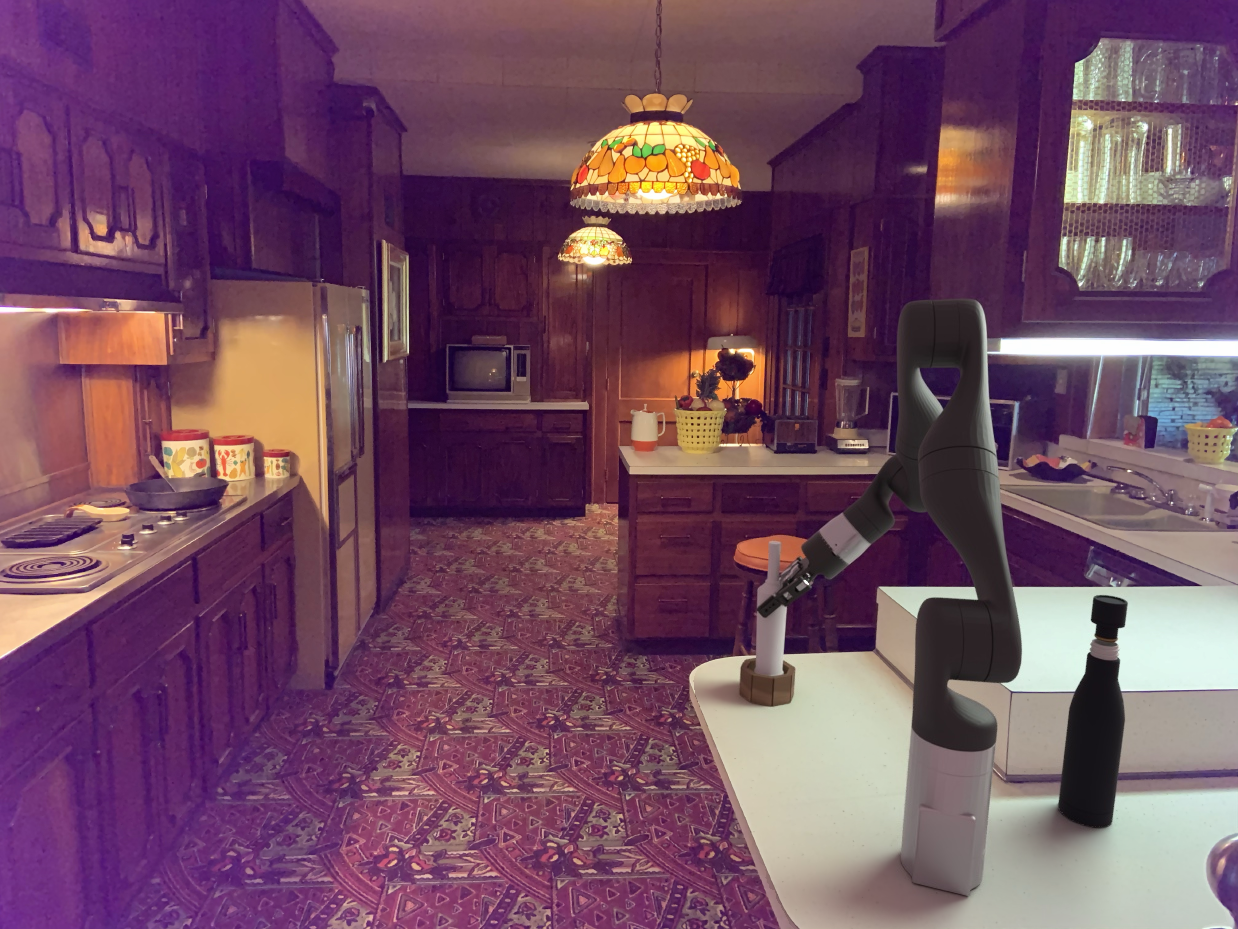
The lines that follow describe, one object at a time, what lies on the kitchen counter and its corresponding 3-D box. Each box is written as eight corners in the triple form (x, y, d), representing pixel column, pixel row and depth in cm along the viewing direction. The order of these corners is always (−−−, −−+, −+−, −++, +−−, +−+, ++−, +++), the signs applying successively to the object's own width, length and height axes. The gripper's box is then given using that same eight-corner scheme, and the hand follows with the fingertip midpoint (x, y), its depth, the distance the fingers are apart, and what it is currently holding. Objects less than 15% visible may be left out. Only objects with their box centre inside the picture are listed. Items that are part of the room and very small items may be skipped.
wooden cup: (787, 709, 142) (789, 681, 141) (735, 700, 145) (736, 672, 144) (796, 688, 150) (798, 662, 149) (747, 680, 153) (748, 654, 152)
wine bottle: (1047, 806, 114) (1071, 594, 109) (1079, 796, 117) (1103, 589, 112) (1090, 832, 108) (1117, 609, 103) (1123, 821, 111) (1151, 603, 106)
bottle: (781, 675, 149) (788, 539, 145) (784, 687, 144) (791, 546, 140) (752, 674, 150) (758, 538, 146) (754, 686, 145) (760, 545, 141)
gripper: (819, 520, 148) (747, 580, 152) (822, 539, 134) (743, 605, 138) (848, 551, 148) (776, 610, 152) (854, 573, 134) (775, 638, 138)
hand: (761, 608), depth 145 cm, fingers closed on bottle, 5 cm apart
